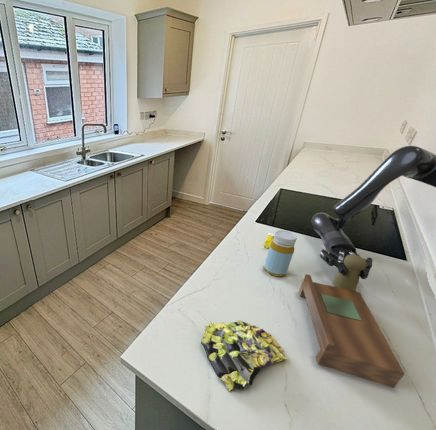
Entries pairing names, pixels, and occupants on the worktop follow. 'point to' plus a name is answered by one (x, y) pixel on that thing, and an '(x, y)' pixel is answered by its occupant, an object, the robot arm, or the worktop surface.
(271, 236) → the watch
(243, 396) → the worktop surface
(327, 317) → the shelf
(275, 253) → the bottle
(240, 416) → the worktop surface
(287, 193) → the worktop surface
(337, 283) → the olive knobbed peg
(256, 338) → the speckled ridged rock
